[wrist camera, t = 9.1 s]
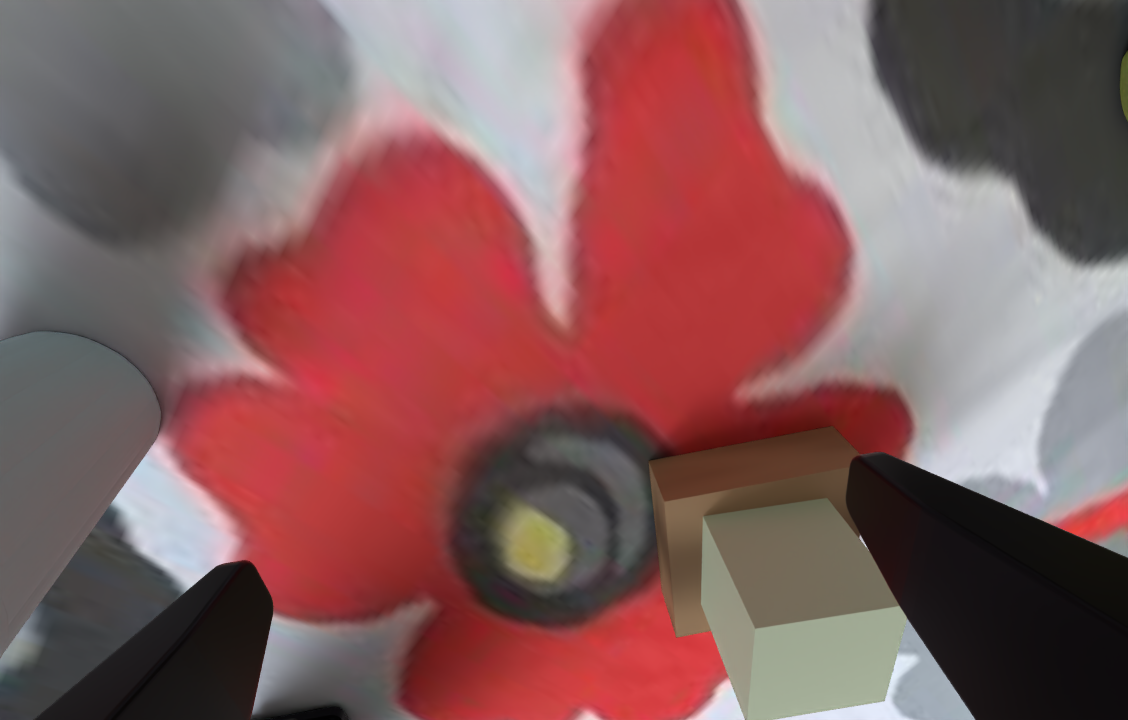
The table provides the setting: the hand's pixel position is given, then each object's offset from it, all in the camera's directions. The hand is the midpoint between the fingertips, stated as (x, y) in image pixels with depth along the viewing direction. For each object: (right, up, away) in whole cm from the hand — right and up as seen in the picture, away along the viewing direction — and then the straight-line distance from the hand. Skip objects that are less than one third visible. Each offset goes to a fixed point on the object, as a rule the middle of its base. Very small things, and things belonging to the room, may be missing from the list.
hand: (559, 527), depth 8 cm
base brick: (+8, -4, +17) cm, 20 cm away
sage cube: (+8, -5, +14) cm, 17 cm away
